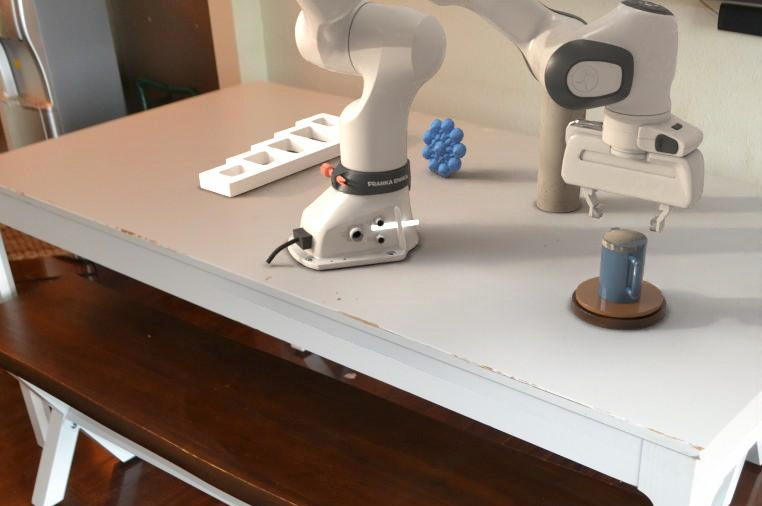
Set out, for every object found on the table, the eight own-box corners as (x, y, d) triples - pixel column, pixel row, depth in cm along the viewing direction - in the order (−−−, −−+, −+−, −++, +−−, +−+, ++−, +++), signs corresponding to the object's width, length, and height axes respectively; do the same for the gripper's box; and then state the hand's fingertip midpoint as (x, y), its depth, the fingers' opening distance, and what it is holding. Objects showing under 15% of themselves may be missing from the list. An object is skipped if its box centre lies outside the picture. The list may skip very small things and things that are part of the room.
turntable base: (606, 338, 141) (607, 328, 140) (553, 299, 151) (554, 290, 150) (684, 317, 146) (685, 308, 145) (627, 281, 157) (628, 272, 156)
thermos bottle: (580, 198, 187) (592, 46, 172) (577, 214, 180) (588, 57, 165) (539, 196, 188) (546, 44, 173) (534, 211, 182) (541, 55, 167)
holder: (231, 197, 188) (229, 183, 187) (169, 177, 197) (167, 164, 196) (382, 139, 218) (382, 127, 217) (323, 124, 228) (322, 113, 226)
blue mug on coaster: (564, 283, 152) (568, 224, 147) (643, 275, 154) (650, 217, 149) (592, 322, 141) (598, 259, 136) (676, 313, 143) (685, 251, 138)
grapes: (479, 178, 197) (480, 118, 190) (456, 186, 193) (456, 126, 186) (438, 164, 204) (438, 106, 197) (414, 172, 200) (414, 113, 193)
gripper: (556, 121, 136) (551, 215, 144) (697, 146, 127) (683, 246, 134) (577, 110, 141) (570, 202, 148) (715, 134, 131) (700, 231, 138)
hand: (625, 223), depth 141 cm, fingers open, 8 cm apart
